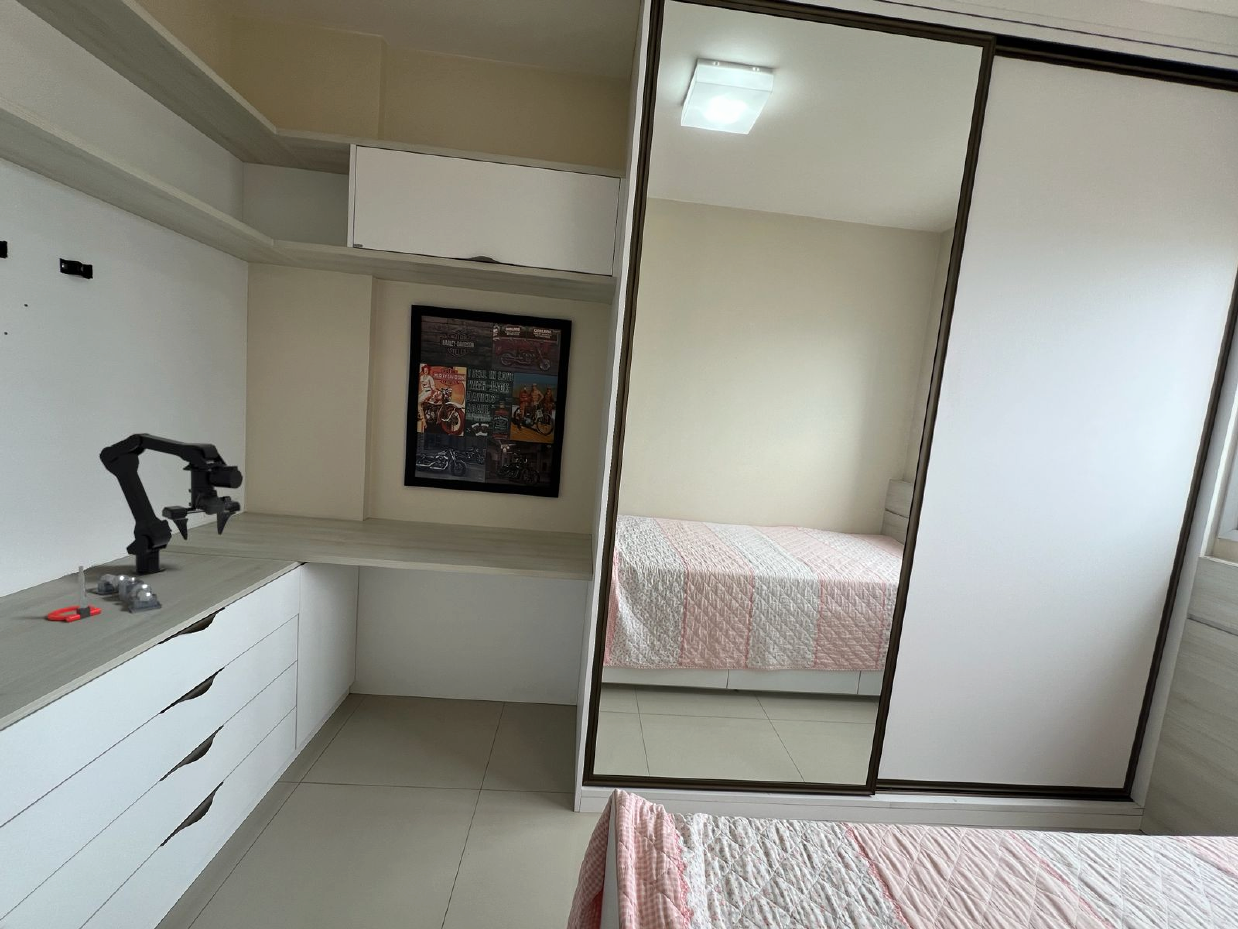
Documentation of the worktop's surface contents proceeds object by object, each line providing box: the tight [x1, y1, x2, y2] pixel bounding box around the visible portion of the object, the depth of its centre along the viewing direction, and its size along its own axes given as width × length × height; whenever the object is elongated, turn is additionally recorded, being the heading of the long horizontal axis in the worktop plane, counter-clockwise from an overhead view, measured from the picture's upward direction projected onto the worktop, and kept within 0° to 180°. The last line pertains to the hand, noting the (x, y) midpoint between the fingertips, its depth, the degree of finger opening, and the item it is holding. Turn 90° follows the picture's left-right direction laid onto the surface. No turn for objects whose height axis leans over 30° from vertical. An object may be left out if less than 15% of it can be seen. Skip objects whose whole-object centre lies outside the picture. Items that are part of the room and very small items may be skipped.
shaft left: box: [91, 573, 131, 596], centre depth 157 cm, size 7×6×5 cm
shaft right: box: [128, 583, 163, 614], centre depth 149 cm, size 7×6×5 cm
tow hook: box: [46, 565, 102, 623], centre depth 141 cm, size 8×13×9 cm
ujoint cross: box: [118, 576, 145, 603], centre depth 154 cm, size 6×4×6 cm, turn 61°
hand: (203, 537), depth 173 cm, fingers open, 9 cm apart
